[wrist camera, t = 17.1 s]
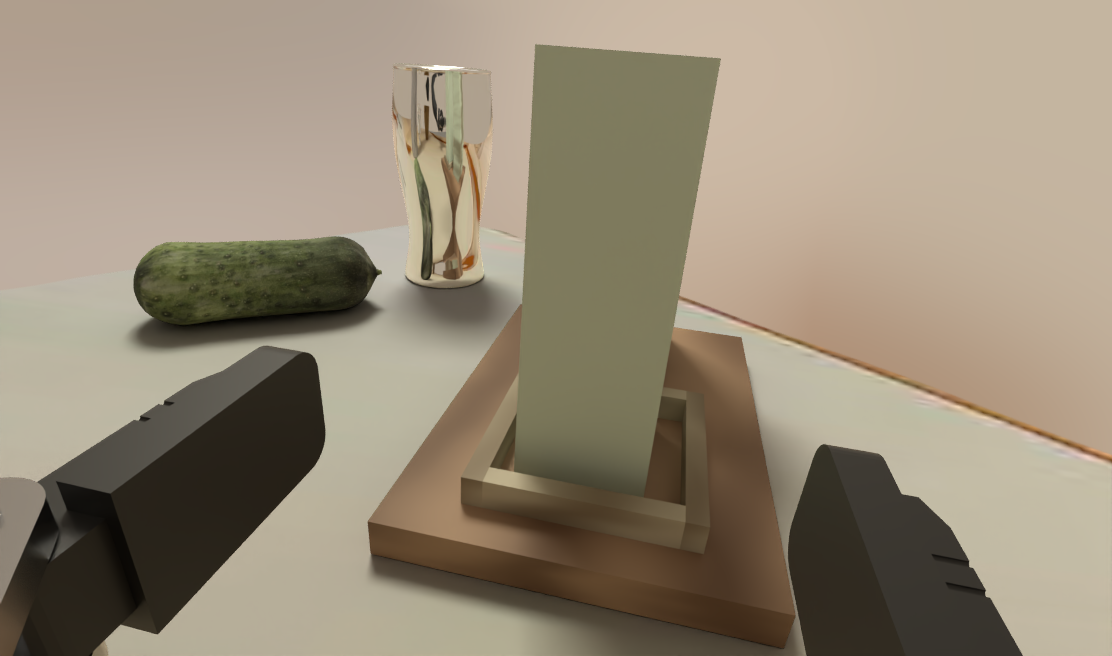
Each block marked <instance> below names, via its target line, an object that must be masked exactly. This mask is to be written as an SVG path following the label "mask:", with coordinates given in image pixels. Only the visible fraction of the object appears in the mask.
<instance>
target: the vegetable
mask: <svg viewBox="0 0 1112 656" xmlns="http://www.w3.org/2000/svg"><path fill="white" fill-rule="evenodd" d="M380 274H382V271H381V270H378V269H376V267H375V266H374V264H373V263H372V261H371V259H370V258H369V256H368V255H367V253H366V252H365V250H364V248H363V247H362V246H360V245H359V244H358V243H356V242H355V241H353V240H351V239H348V238H345V237H336V236H335V237H324V238H315V239H305V240H279V241H239V242H214V243H213V242H211V243H196V242H166V243H163V244H161V245H158V246H156V247H155V248H153V249H152V250H150V251H149V252H148V253H147V254H146V255H145V256H144V257H143V258H142V259H141V261H140V263H139V264H138V266H137V268H136V272H135V275H134V292H135V296H136V298H137V300H138V302H139V304H140V306H141V307H142V308H143V309H144V311H145V312H147V313H148V314H149V315H151V316H152V317H154V318H156V319H158V320H160V321H164V322H167V323H171V324H180V325H189V324H196V323H204V322H211V321H218V320H225V319H234V318H246V317H257V316H269V315H281V314H293V313H305V312H316V311H328V310H339V309H346V308H350V307H352V306H355V305H357V304H358V303H360V302H361V301H362V300H363V299H364V298H365V297H366V296H367V294H368V292H369V290H370V289H371V287H372V285H373V283H374V281H375V279H376V277H377V275H380Z"/></svg>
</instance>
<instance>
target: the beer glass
mask: <svg viewBox="0 0 1112 656" xmlns="http://www.w3.org/2000/svg"><path fill="white" fill-rule="evenodd" d="M491 96H492V95H491V71H488V70H482V69H473V68H462V67H450V66H437V65H421V64H420V65H419V64H393V100H392V121H393V122H392V124H393V140H394V151H395V156H396V162H397V169H398V174H399V178H400V183H401V187H402V192H403V197H404V201H405V205H406V211H407V215H408V223H409V247H408V254H407V261H406V268H405V274H406V277H407V278H408V279H409V280H410V281H412V282H414V283H416V284H418V285H422V286H426V287H432V288H458V287H464V286H469V285H472V284H474V283H477V282H478V281H480V280H481V279H482V278H483V275H484V269H483V262H482V256H481V251H480V242H479V228H480V218H481V212H482V205H483V201H484V196H485V191H486V185H487V180H488V174H489V168H490V161H491V154H492V136H493V130H492V129H493V121H492V120H493V119H492V118H493V116H492V97H491Z"/></svg>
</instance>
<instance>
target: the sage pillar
mask: <svg viewBox="0 0 1112 656" xmlns="http://www.w3.org/2000/svg"><path fill="white" fill-rule="evenodd" d="M720 60H721V59H720V58H707V57H694V56H681V55H668V54H655V53H641V52H628V51H616V50H615V51H614V50H602V49H589V48H576V47H562V46H550V45H535V62H534V80H533V101H532V120H531V140H530V161H529V181H528V201H527V220H526V239H525V259H524V279H523V299H522V319H521V339H520V359H519V379H518V398H517V418H516V438H515V458H514V472H517V473H522V474H527V475H532V476H537V477H542V478H547V479H552V480H557V481H562V482H567V483H572V484H578V485H583V486H588V487H593V488H598V489H603V490H608V491H613V492H618V493H623V494H628V495H633V496H638V497H644V492H645V486H646V480H647V475H648V469H649V463H650V458H651V452H652V446H653V440H654V435H655V429H656V423H657V418H658V412H659V406H660V401H661V395H662V389H663V384H664V378H665V372H666V367H667V361H668V355H669V350H670V344H671V338H672V333H673V327H674V321H675V316H676V310H677V304H678V298H679V292H680V287H681V281H682V275H683V270H684V264H685V259H686V253H687V247H688V241H689V236H690V230H691V225H692V219H693V213H694V207H695V202H696V196H697V191H698V185H699V179H700V174H701V168H702V162H703V157H704V150H705V145H706V139H707V134H708V128H709V122H710V116H711V111H712V105H713V99H714V93H715V88H716V82H717V77H718V71H719V66H720Z"/></svg>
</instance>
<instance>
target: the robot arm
mask: <svg viewBox="0 0 1112 656" xmlns="http://www.w3.org/2000/svg"><path fill="white" fill-rule="evenodd" d="M324 442H325V423H324V414H323V406H322V398H321V390H320V382H319V373H318V366H317V363H316V360H315V358H314V357H313V356H312V355H311V354H309V353H306V352H300V351H295V350H289V349H283V348H277V347H272V346H262V347H259V348H257V349H256V350H254V351H253V352H251V353H250V354H248V355H247V356H245V357H244V358H242V359H240V360H239V361H237V362H236V363H234V364H233V365H231V366H230V367H228V368H227V369H225V370H224V371H221V372H219V373H216V374H214V375H211V376H208V377H206V378H203V379H200V380H198V381H195V382H193V383H191V384H189V385H188V386H186V387H185V388H183V389H182V390H180V391H179V392H177V393H175V394H174V395H172V396H171V397H169V398H168V399H166V400H165V401H164V404H163V405H160V404H158V405H157V406H155V407H154V408H152V409H150V410H149V411H147V412H146V413H144V414H143V415H141V416H140V420H139V421H136V420H133V421H132V422H130V423H129V424H127V425H126V426H124V427H122V428H121V429H119V430H118V431H116V432H115V433H113V434H111V435H110V436H108V437H107V438H105V439H104V440H102V441H101V442H99V443H97V444H96V445H94V446H93V447H91V448H90V449H88V450H86V451H85V452H83V453H82V454H80V455H79V456H77V457H76V458H74V459H72V460H71V461H69V462H68V463H66V464H65V465H63V466H62V467H60V468H58V469H57V470H55V471H54V472H52V473H51V474H49V475H47V476H46V477H44V478H43V479H41V480H40V481H38V482H35V481H33V480H30V479H24V478H13V477H10V478H0V656H108V649H107V645H106V643H105V639H106V638H107V637H108V636H109V635H110V634H111V633H112V632H113V631H114V630H115V629H116V628H117V627H118V626H120V625H124V626H128V627H132V628H136V629H139V630H143V631H147V632H150V633H154V634H159V633H160V632H161V630H162V629H163V628H164V627H165V626H166V625H167V624H168V623H169V622H170V621H171V620H172V619H173V618H174V616H175V615H176V614H177V613H178V612H179V611H180V610H181V609H182V608H183V607H184V606H185V605H186V604H187V603H188V601H189V600H190V599H191V598H192V597H193V596H194V595H195V594H196V593H197V592H198V591H199V590H200V589H201V587H202V586H203V585H204V584H205V583H206V582H207V581H208V580H209V579H210V578H211V577H212V576H213V575H214V574H215V572H216V571H217V570H218V569H219V568H220V567H221V566H222V565H223V564H224V563H225V562H226V561H227V560H228V559H229V557H230V556H231V555H232V554H233V553H234V552H235V551H236V550H237V549H238V548H239V547H240V546H241V545H242V543H243V542H244V541H245V540H246V539H247V538H248V537H249V536H250V535H251V534H252V533H253V532H254V531H255V530H256V528H257V527H258V526H259V525H260V524H261V523H262V522H263V521H264V520H265V519H266V518H267V517H268V516H269V514H270V513H271V512H272V511H273V510H274V509H275V508H276V507H277V506H278V505H279V504H280V503H281V502H282V501H283V499H284V498H285V497H286V496H287V495H288V494H289V493H290V492H291V491H292V490H293V489H294V488H295V487H296V486H297V484H298V483H299V482H300V481H301V480H302V479H303V478H304V477H305V476H306V475H307V474H308V473H309V472H310V470H311V469H312V468H313V467H314V466H315V464H316V463H317V461H318V459H319V457H320V455H321V453H322V450H323V447H324ZM788 562H789V570H790V575H791V580H792V585H793V590H794V595H795V600H796V605H797V610H798V615H799V620H800V625H801V630H802V635H803V640H804V645H805V650H806V655H807V656H1023V655H1022V653H1021V652H1020V650H1019V648H1018V646H1017V645H1016V643H1015V641H1014V639H1013V637H1012V636H1011V634H1010V632H1009V630H1008V629H1007V627H1006V625H1005V623H1004V622H1003V620H1002V618H1001V616H1000V614H999V613H998V611H997V609H996V607H995V606H994V604H993V602H992V600H991V599H990V598H988V597H986V596H985V591H986V590H985V588H984V586H983V584H982V583H981V581H980V579H979V577H978V576H977V574H976V572H975V570H974V569H973V568H970V567H969V560H968V558H967V556H966V554H965V553H964V551H963V549H962V547H961V546H960V544H959V542H958V540H957V539H956V537H955V535H954V533H953V531H952V530H951V528H950V527H949V526H948V525H947V524H946V523H945V522H944V521H943V520H942V519H941V518H940V517H938V516H937V515H936V514H935V513H934V512H933V511H932V510H931V509H930V508H929V507H928V506H927V505H926V504H925V503H924V502H923V501H922V500H921V499H920V498H919V497H914V496H908V495H903V494H901V492H900V490H899V488H898V486H897V484H896V482H895V480H894V478H893V476H892V474H891V472H890V470H889V468H888V466H887V464H886V462H885V460H884V458H883V457H882V456H881V455H880V454H877V453H871V452H866V451H860V450H854V449H848V448H843V447H837V446H831V445H825V444H823V445H821V446H820V447H819V448H818V449H817V451H816V453H815V455H814V458H813V461H812V464H811V467H810V470H809V473H808V476H807V479H806V482H805V485H804V488H803V491H802V494H801V497H800V501H799V504H798V507H797V510H796V513H795V516H794V519H793V522H792V525H791V530H790V535H789V544H788Z"/></svg>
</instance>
